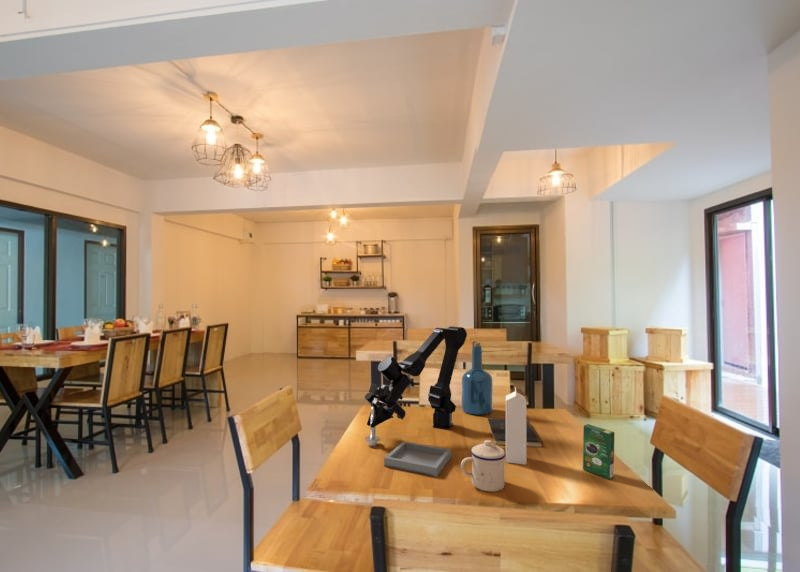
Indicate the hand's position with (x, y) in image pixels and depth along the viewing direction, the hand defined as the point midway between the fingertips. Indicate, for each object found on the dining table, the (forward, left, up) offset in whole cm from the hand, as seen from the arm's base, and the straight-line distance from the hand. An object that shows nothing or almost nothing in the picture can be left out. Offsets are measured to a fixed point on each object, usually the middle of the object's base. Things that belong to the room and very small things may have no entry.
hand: (369, 426), depth 132 cm
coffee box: (-70, -9, -7) cm, 71 cm away
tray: (-20, +5, -7) cm, 21 cm away
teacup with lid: (-41, +11, -7) cm, 43 cm away
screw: (-1, -1, -7) cm, 7 cm away
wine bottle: (-25, -53, -7) cm, 59 cm away
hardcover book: (-43, -32, -7) cm, 54 cm away
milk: (-47, -9, -7) cm, 48 cm away
